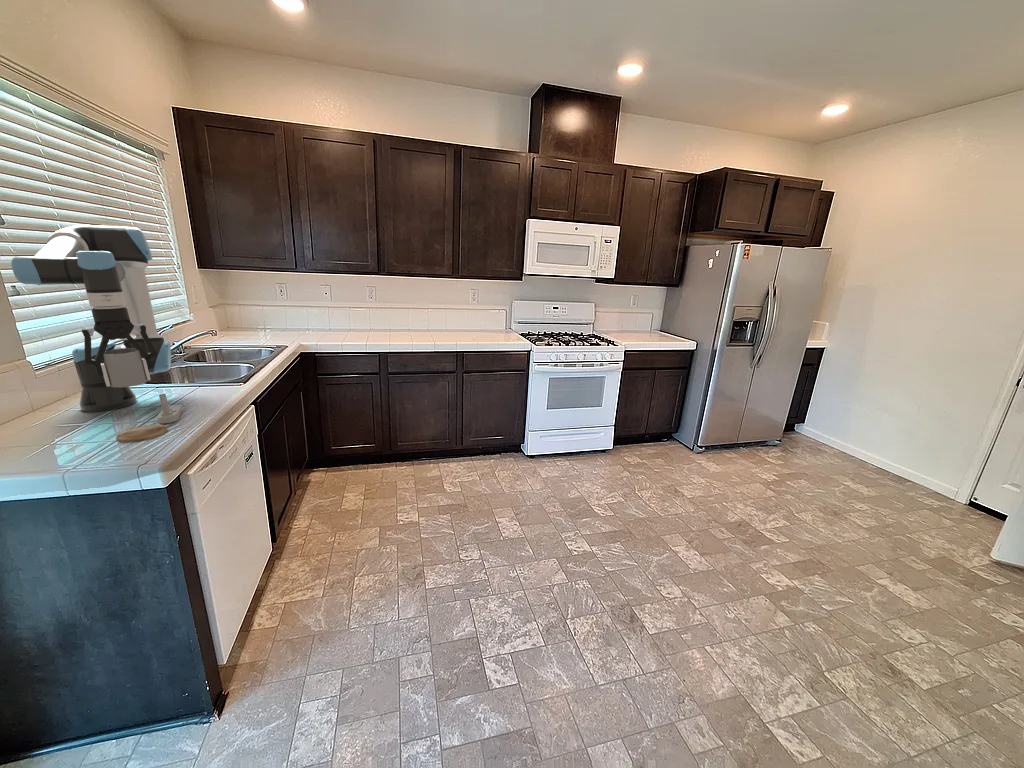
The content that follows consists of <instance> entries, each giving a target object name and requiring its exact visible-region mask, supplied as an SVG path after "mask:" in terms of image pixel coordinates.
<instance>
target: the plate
mask: <svg viewBox="0 0 1024 768" xmlns="http://www.w3.org/2000/svg"><path fill="white" fill-rule="evenodd" d="M167 432H168V427H167V425H164V424H160V423H158V424H156V423H155V424H145V425H141V426H136V427H132V428H129V429H125V430H124V431H121V432H119V433H118V434H116V440H117V441H118V442H121V443H133V442H135V443H136V442H141V441H146V440H150V439H155V438H158V437H159V436H162V435H163V434H165V433H167Z"/></svg>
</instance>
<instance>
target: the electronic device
mask: <svg viewBox="0 0 1024 768" xmlns="http://www.w3.org/2000/svg"><path fill="white" fill-rule="evenodd" d="M158 398H159V402H160V406H161V407H160V408H161V410H160V411H159V413H158V415H157V421H158V424H159V425H164V424H170V423H175V422H176V421H178V420H179V418H180V417H181V415H182V412H183V407H182V405H181V404H171V405H170V404H169V402H168V399H167V395H166V393H161V394H158Z"/></svg>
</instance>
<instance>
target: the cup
mask: <svg viewBox="0 0 1024 768" xmlns="http://www.w3.org/2000/svg"><path fill="white" fill-rule="evenodd" d="M103 362H104V365H105V368H106V372H107V375H108V379H109V382H110V387H130V388H131V387H137V386H140V385H143V384H145V383H147V382H148V380H147V379H146V375H145V371H144V367H143V363H142V359H141V355H140V352H139V350H137V349H136V348H126V349H115V350H109V351H105V353H104V354H103Z"/></svg>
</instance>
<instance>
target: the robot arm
mask: <svg viewBox="0 0 1024 768" xmlns="http://www.w3.org/2000/svg"><path fill="white" fill-rule="evenodd" d="M151 252H152V251H151V249H150V247H149V244H148V241H147V238H146V236H145V235H144V233H143V231H142V230H141V229H140V228H138V227H133V226H132V227H131V226H125V225H120V226H119V225H98V224H97V225H96V224H95V225H94V224H93V225H91V224H78V225H77V224H76V225H72V226H67V227H64V228H61V229H59V230H56V231H55V232H53V233H51V234H50V235H49V236H48V237H47V241H46V244H45V245H44V246H43V247H42V248H41V249H40V250H39V251H38V252H37V253H36V254H35V255H33V256H28V255H26V256H15V257H13V258H12V259H11V265H10V266H11V269H12V273H13V275H14V277H15V279H16V280H17V281H18V282H19V283H20V284H23V285H37V286H43V285H44V286H45V285H46V286H47V285H52V286H53V285H83V286H84V288H85V292H86V296H87V297H86V298H87V299H88V303H89V306H90V307H91V310H90V312H91V314H92V318H93V321H94V326H93V327H89V328H82V329H81V334H82V335H83V336H84V340H83V342H84V343H83V344H84V345H81V346H77V347H75V348H73V350H72V352H71V354H72V359H73V364H74V367H75V369H76V372H77V376H78V379H79V383H80V386H81V395H80V400H79V406H80V407H79V408H80V410H81V411H83V412H87V413H93V412H94V413H95V412H105V411H113V410H116V409H122V408H126V407H129V406H131V405H133V404H136V402H138V400H137V396H136V394H135V393H134V391H133V390H132V389H131V386H130V387H110V382H109V379H108V375H107V372H106V368H105V365H104V362H103V354H104V353H105V351H109V350H115V349H126V348H136V349H137V350H139V352H140V355H141V359H142V363H143V367H144V371H145V375H146V379H147V381H151V376H150V374H157V373H163V372H167V371H169V370H170V369H171V365H172V349H171V344H170V342H169V341H166V340H165V339H164V336H162V335H161V334H159V333H158V330H157V324H156V321H155V316H154V311H153V305H152V301H151V296H150V291H149V287H148V282H147V278H146V277H147V275H146V273H145V270H146V268H148V267H149V261H153V255H152V253H151ZM94 332H96V333H98V334H99V335H100V336H102V337H101V340H100V341H99V342H93V343H92V337H93V335H94ZM115 340H122V343H123V344H117V343H116V342H115Z"/></svg>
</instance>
